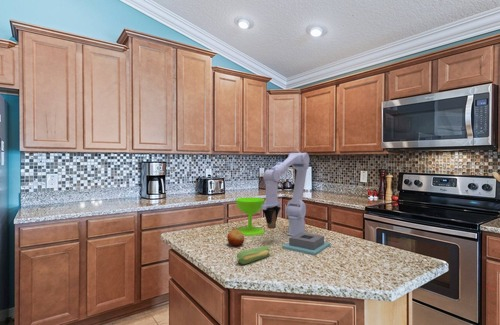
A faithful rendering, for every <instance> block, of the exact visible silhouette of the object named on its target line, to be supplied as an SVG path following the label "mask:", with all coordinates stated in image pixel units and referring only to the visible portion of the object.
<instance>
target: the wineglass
mask: <svg viewBox="0 0 500 325" xmlns="http://www.w3.org/2000/svg"><path fill="white" fill-rule="evenodd" d="M264 203H265V199H264V198H261V197H239V198H236V199H235V204H236V206H237V208H238V209H239V211H241V212H242V213H244V214H247V217H248V219H247V223H248V224H247V226H243V227H239V228H237V229H236V230H238V231H241V233H243V234H244V236H249V237H250V236H259V235H260V236H261V235H263V234H264V233H265V230H264V229H263V228H261V227H258V226H253V224H252V223H253V222H252V221H253V220H252V218H253V214H256V213H258V212H259V211H262V205H264Z"/></svg>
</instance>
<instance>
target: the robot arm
mask: <svg viewBox="0 0 500 325" xmlns="http://www.w3.org/2000/svg"><path fill="white" fill-rule="evenodd" d="M309 165H310V156H309V154H308V152H290V153H289V154H288V156H287V158H286V159H284V161H283V162H280V161H278V162H276V164H275V165H274V166H272V167H271V168H270V169H266V170H265V171H264V172H263V175H262V177H263V178H262V179H263V181H264V184H265V202H264V205H262V208H261V211H262V212H263V214H264V217H265V220H266V224H267V223H269V224H271V222H272V215H273V212H274V211H276V221H277V220H278V217H279V216H278V215H279V213H280V211H281V209H282V207H281V206H282V201H278V197H279V196H278V193H279V192H278V182H279V181H280V180H281V177H282V176H283V174H284V173H287V170H288V168H289V167H290V166H292V167H293V169H295V170H296V175H295V180H294V188H293V192H292V198H291V199H290V200H288V201H287V205H286V207H285V210H284V211H285V215H286V216H287V218H288V232H286V233H285V236H286V235H287V236H290V237H292V236H294V235H296V234H298V233H300V232H302V233H307V232H306V221H305V217H306V214H307V210H306V209H307V208H306V207H307V204H306V203H305V202H304V201H303V196H304V191H305V184H306V178H307V177H306V176H307V172H308V171H307V170H308V169H309Z"/></svg>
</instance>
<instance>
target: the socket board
mask: <svg viewBox="0 0 500 325" xmlns="http://www.w3.org/2000/svg"><path fill="white" fill-rule="evenodd" d="M331 244H332V243H331V242H329V241H325V236H324V235H319V234H313V233H309V232H308V233H307V232H306V233H302V232H300V233H298V234H296V235H294V236H290V237H289V240H288V242H287V243H285V244H283V245H281V249H284V250H289V251H294V252H298V253H303V254H307V255H312V256H316V255H318V254H320V253H321V252H322V251H324V250H325V249H327V248H328V247H330V246H331Z"/></svg>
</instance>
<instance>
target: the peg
mask: <svg viewBox="0 0 500 325" xmlns="http://www.w3.org/2000/svg"><path fill="white" fill-rule="evenodd" d="M276 222H277V220H276V211H274V212H273V215H272V222H271V224H269V223H267V222H266V224H267V225H266V226H267V227H266V228H267V229H271V230H272V229H276V227H277V226H276Z"/></svg>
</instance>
